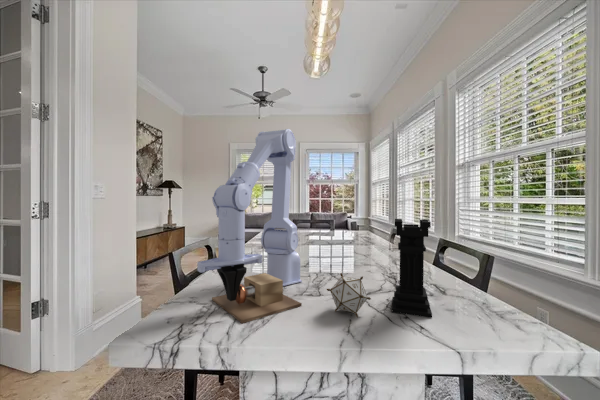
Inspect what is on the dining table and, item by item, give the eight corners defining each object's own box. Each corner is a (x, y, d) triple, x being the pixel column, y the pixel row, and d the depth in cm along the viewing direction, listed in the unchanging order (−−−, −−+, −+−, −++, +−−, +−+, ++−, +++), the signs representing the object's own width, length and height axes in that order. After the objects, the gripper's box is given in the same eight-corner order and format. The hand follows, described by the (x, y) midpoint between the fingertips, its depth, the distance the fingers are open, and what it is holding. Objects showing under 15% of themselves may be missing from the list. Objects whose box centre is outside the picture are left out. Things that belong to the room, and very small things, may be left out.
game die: (348, 333, 60) (336, 305, 54) (328, 306, 67) (315, 278, 61) (381, 309, 62) (373, 279, 56) (358, 285, 69) (348, 257, 63)
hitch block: (265, 288, 78) (265, 268, 77) (301, 305, 65) (301, 282, 65) (212, 300, 68) (212, 277, 68) (242, 323, 56) (242, 296, 56)
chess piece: (428, 304, 67) (428, 219, 66) (432, 317, 59) (432, 222, 59) (392, 300, 69) (393, 218, 69) (391, 312, 62) (392, 221, 61)
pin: (270, 292, 72) (270, 275, 72) (279, 296, 68) (279, 279, 68) (233, 300, 65) (233, 282, 65) (241, 306, 62) (242, 287, 62)
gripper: (252, 234, 70) (251, 288, 70) (192, 239, 61) (192, 301, 62) (266, 237, 65) (266, 296, 65) (204, 243, 56) (203, 311, 56)
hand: (231, 299), depth 63 cm, fingers closed
